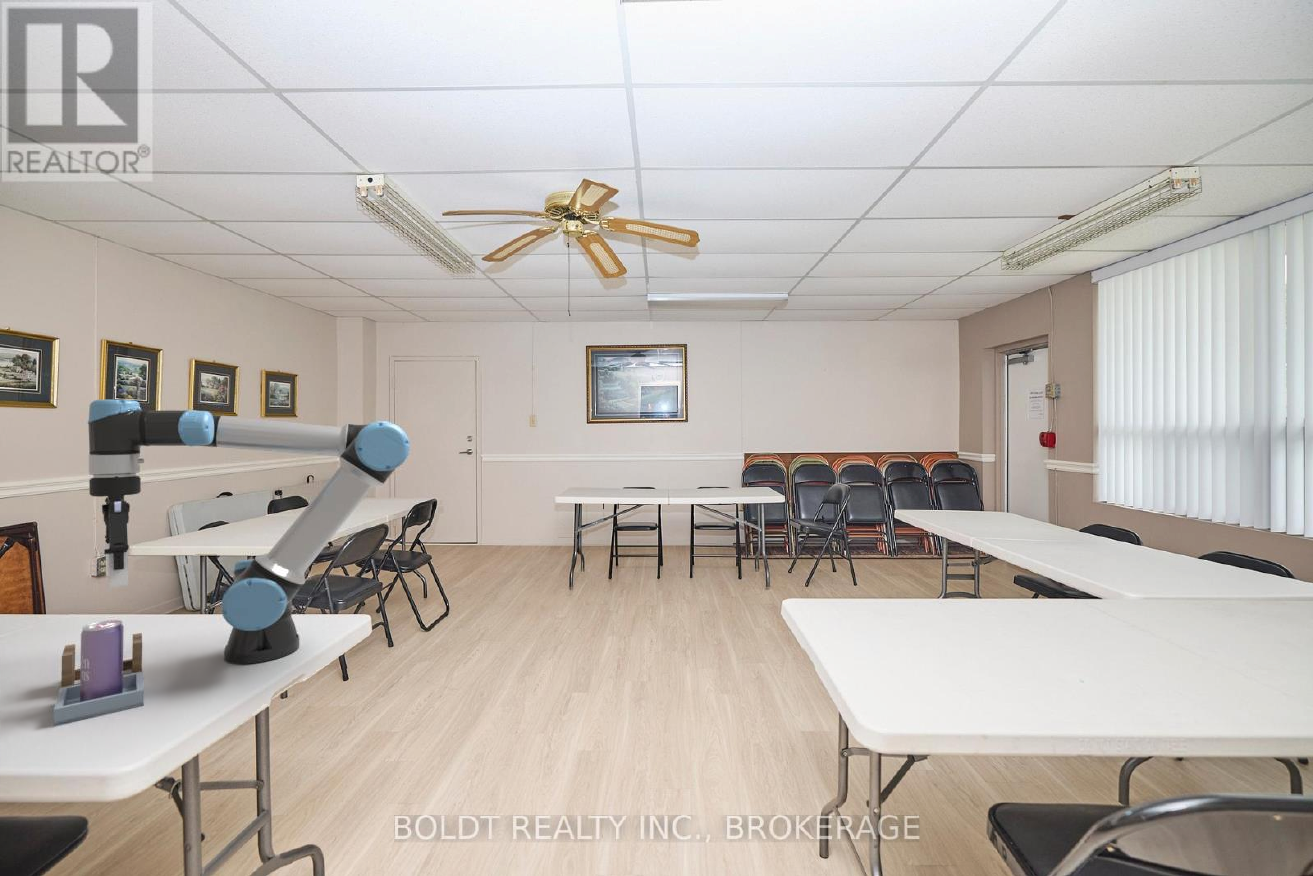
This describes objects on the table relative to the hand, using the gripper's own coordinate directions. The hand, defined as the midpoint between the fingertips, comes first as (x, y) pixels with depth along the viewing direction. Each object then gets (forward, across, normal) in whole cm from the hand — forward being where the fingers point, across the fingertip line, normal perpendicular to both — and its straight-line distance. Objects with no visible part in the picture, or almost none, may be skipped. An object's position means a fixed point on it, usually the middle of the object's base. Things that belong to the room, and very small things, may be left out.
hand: (116, 580), depth 114 cm
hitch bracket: (+23, +11, +2) cm, 26 cm away
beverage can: (+23, -4, +2) cm, 23 cm away
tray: (+23, -4, +2) cm, 24 cm away
